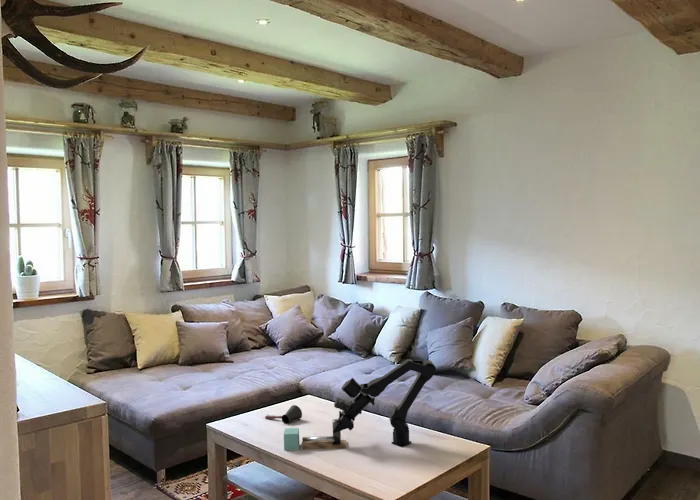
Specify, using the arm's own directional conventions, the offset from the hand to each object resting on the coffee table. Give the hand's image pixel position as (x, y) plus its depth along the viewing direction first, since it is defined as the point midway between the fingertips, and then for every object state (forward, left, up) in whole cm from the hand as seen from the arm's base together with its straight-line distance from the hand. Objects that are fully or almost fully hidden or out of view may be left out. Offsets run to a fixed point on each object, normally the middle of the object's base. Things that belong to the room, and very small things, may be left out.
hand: (333, 430), depth 249 cm
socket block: (+13, +13, -7) cm, 19 cm away
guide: (+3, +3, -7) cm, 8 cm away
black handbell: (+43, -7, -7) cm, 44 cm away
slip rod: (+3, +3, -5) cm, 7 cm away
